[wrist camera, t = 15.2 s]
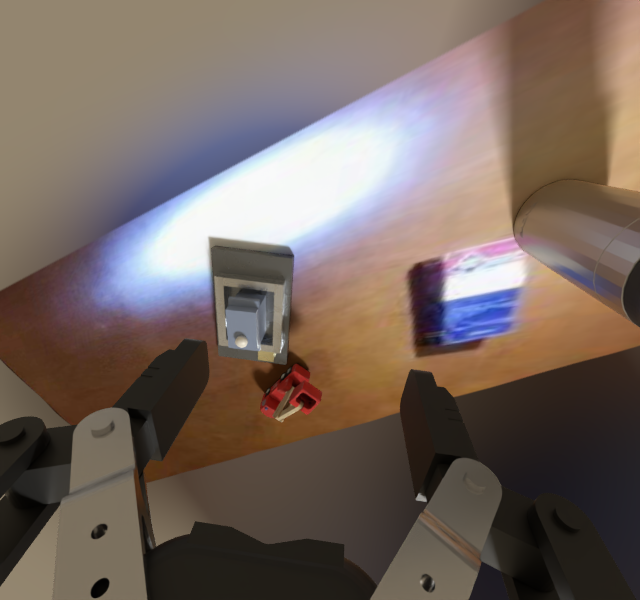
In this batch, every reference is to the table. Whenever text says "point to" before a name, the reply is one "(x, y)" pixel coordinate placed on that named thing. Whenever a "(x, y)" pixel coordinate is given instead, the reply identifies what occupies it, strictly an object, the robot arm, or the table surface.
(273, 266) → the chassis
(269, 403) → the toy fire truck
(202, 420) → the table surface
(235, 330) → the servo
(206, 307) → the table surface
